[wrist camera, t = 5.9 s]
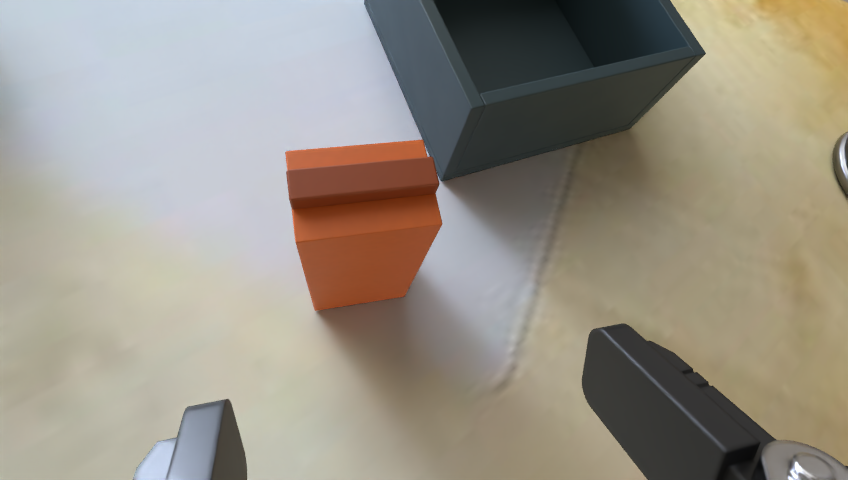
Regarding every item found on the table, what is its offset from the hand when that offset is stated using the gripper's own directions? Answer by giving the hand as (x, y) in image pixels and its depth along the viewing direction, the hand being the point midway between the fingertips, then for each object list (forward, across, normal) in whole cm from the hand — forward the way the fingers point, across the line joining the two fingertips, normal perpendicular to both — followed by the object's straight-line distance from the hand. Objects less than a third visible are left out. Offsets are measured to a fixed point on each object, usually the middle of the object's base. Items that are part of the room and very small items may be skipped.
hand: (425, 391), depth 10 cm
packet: (+16, 0, +6) cm, 17 cm away
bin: (+26, -13, -4) cm, 30 cm away
